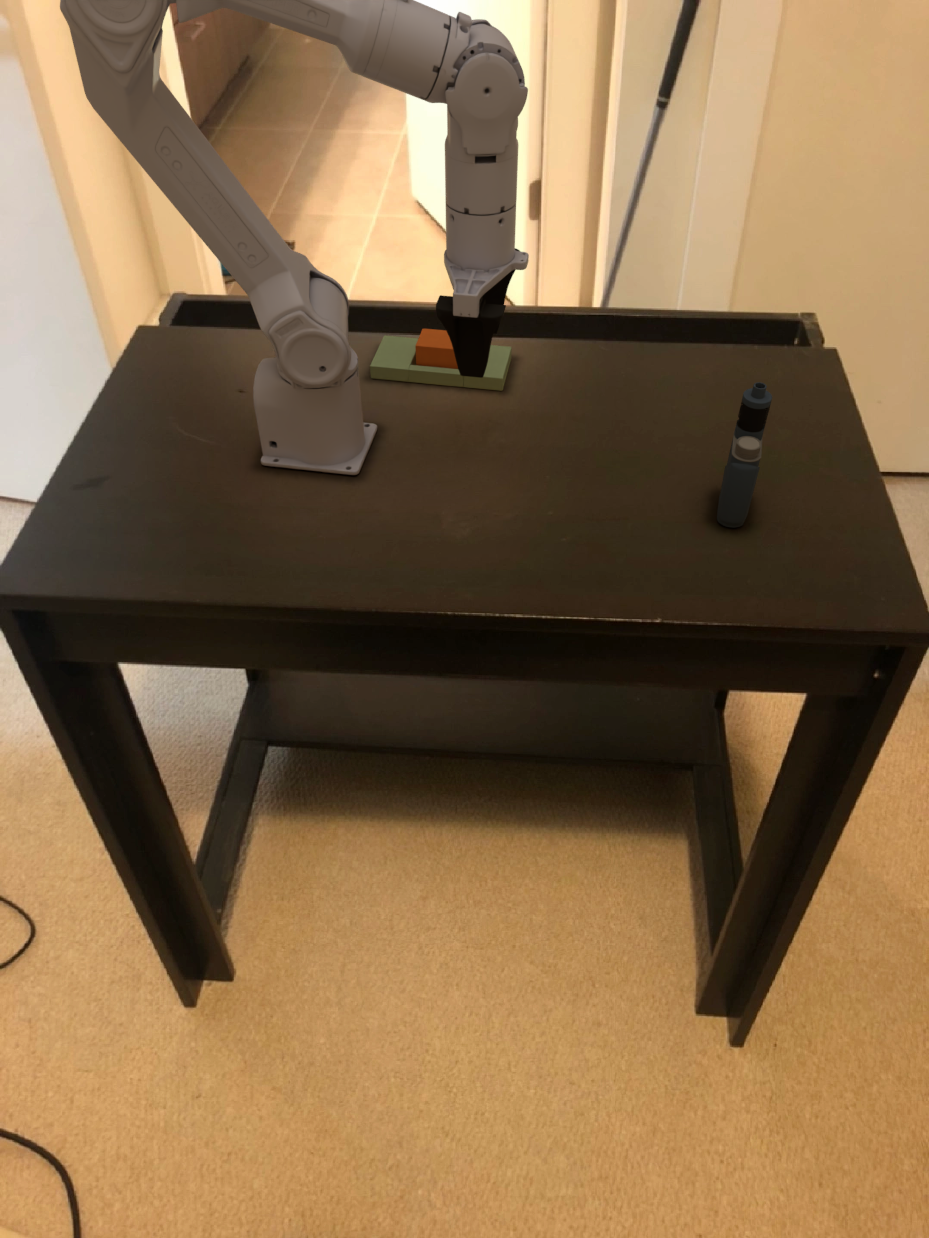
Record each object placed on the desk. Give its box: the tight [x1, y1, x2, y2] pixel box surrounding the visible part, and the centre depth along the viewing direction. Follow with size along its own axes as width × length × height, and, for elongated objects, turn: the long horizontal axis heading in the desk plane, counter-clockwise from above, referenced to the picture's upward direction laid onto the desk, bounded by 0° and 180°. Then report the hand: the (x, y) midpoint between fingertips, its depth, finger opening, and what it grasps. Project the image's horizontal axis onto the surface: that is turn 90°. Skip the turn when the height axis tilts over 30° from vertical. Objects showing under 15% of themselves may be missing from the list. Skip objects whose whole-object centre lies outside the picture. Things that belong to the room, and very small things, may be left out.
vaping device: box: [716, 381, 773, 529], centre depth 83 cm, size 3×5×12 cm, turn 166°
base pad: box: [369, 334, 513, 392], centre depth 104 cm, size 14×6×2 cm, turn 80°
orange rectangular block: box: [416, 328, 458, 369], centre depth 103 cm, size 5×4×4 cm
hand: (479, 352), depth 89 cm, fingers open, 7 cm apart
